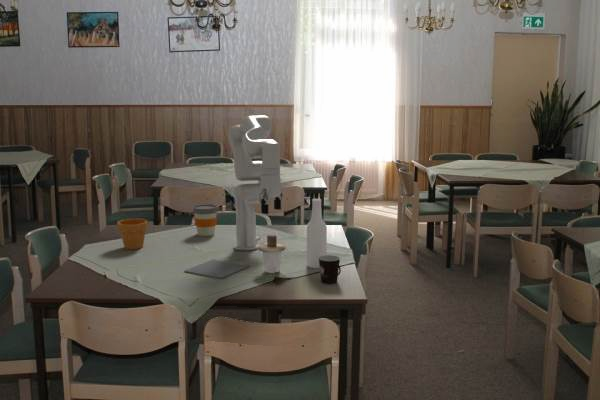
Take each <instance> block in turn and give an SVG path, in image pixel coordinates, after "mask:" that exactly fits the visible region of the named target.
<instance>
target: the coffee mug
mask: <svg viewBox="0 0 600 400" xmlns="http://www.w3.org/2000/svg"><path fill="white" fill-rule="evenodd" d="M340 260H341V257H340V256H338V255H334V254H332V255H331V254H327V255H324V256H320V257H319V265H320V268H319V273H320V280H321V283H322V284H324V285H334V284H337V283H338V278H339V275H340V274H341V271H342V269H341V266H340V262H341V261H340Z"/></svg>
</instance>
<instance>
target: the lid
mask: <svg viewBox="0 0 600 400" xmlns="http://www.w3.org/2000/svg"><path fill="white" fill-rule="evenodd" d="M277 237H278V236H277V235H276V234H268V235H267V236H266V242H263V243H260V244H259V245H258V249H257V250H258V251H260V252H262V253H263V252H281V253H282V252H283V251H285V250H286V249H287V245H286V244H285V243H282V242H277Z"/></svg>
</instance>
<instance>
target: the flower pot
mask: <svg viewBox="0 0 600 400" xmlns="http://www.w3.org/2000/svg"><path fill="white" fill-rule="evenodd" d="M116 224H117V225H116V226H117V231H118V232H119V233H120V236H121V241H122V243H123V247H124V249H126V250H139V249H141V248H143V247H144V243H145V235H146V230H147V229H148V220H146V219H144V218H127V219H126V218H125V219H121V220H118V221H117V223H116Z"/></svg>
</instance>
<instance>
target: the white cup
mask: <svg viewBox="0 0 600 400" xmlns="http://www.w3.org/2000/svg"><path fill="white" fill-rule="evenodd" d="M262 255H263V256H262V257H263V270H264V272H265V273H267V272H268V274H276V273H275V272H277V273H280V272H281V264H282V263H281V261H282V251H281V252H262Z"/></svg>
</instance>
